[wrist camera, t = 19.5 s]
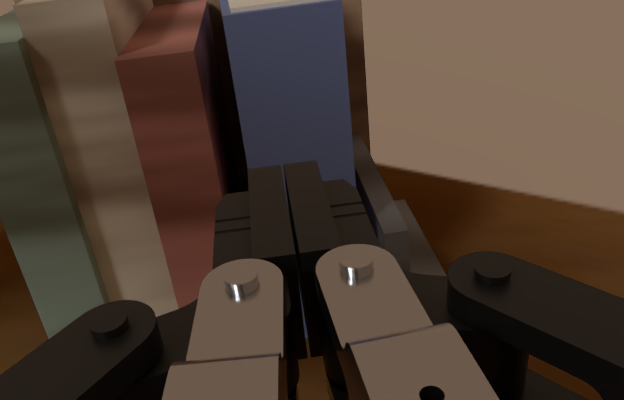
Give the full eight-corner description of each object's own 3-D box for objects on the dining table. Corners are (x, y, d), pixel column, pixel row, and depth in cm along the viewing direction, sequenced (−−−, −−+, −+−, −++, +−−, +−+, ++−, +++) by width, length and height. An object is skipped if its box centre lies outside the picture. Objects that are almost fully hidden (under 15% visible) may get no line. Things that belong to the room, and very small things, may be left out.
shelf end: (467, 319, 26) (478, -83, 19) (39, 386, 25) (-132, -10, 18) (399, 194, 37) (389, -92, 29) (98, 238, 36) (8, -47, 28)
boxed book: (366, 327, 26) (341, -5, 20) (277, 344, 26) (221, 11, 19) (325, 219, 35) (298, -36, 28) (258, 230, 35) (215, -25, 28)
